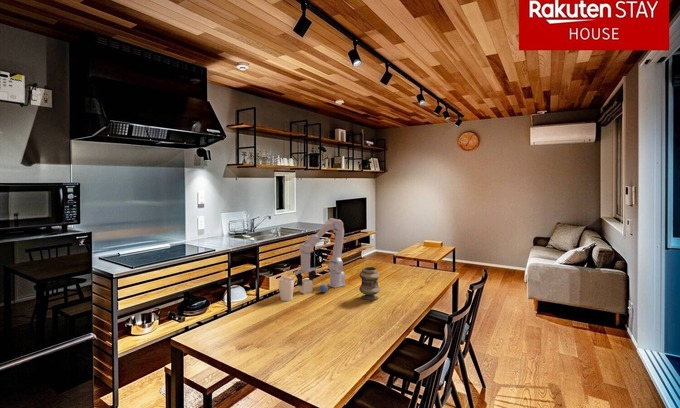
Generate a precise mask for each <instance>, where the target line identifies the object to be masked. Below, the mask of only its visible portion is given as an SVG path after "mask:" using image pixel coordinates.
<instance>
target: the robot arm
mask: <svg viewBox="0 0 680 408" xmlns="http://www.w3.org/2000/svg"><path fill="white" fill-rule="evenodd" d="M328 231H333V232H334V233H335V235H334V236H335V237H334V243H333V248H332V249H333V251H332V256H331V257H330V258H329V262H328V263H327V264H328V265H327V268H328V270H329V283H328V284H326V285H327V287H330V288H331V287H332V288H334V289H335V288H336V289H337V288H340V287H344V286H346V285H347V284H346V277H345V276H346V275H345V272H344V266H343V265H344V263H343V260H342V253H343V252H342V251H343V243H344V238H345V237H344V236H345V228H344V222H343V221H342V220H341V219H340V218H339V219H337V218H333V217H330V218H328V219H327V220H326V221H325V223H324V224H323V225H322V227H321V228H320V229H319V230H318V231H317V232H316V233H315V234H311V235H310V236H309V238H307V240H305V241H304V242H303V243H301V244H300V245H299V248H298V251H300V269H297V270H296V271H295V270H294V276H295V278H296V280H297V283H298V286H299V285H300V286H302V280H303V276H304V275H303V274H306V273H307V274H308V279H309V280H312V282H313V280H314V278H315V276H316V275H317V273H316V272H317V268H316V267H311V252H312V251H313V249H314V247H315V246H316V245H317V244H318V243H319V242H320V238H322V237H323V236H324V235H325V234H326V233H327V232H328Z"/></svg>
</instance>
